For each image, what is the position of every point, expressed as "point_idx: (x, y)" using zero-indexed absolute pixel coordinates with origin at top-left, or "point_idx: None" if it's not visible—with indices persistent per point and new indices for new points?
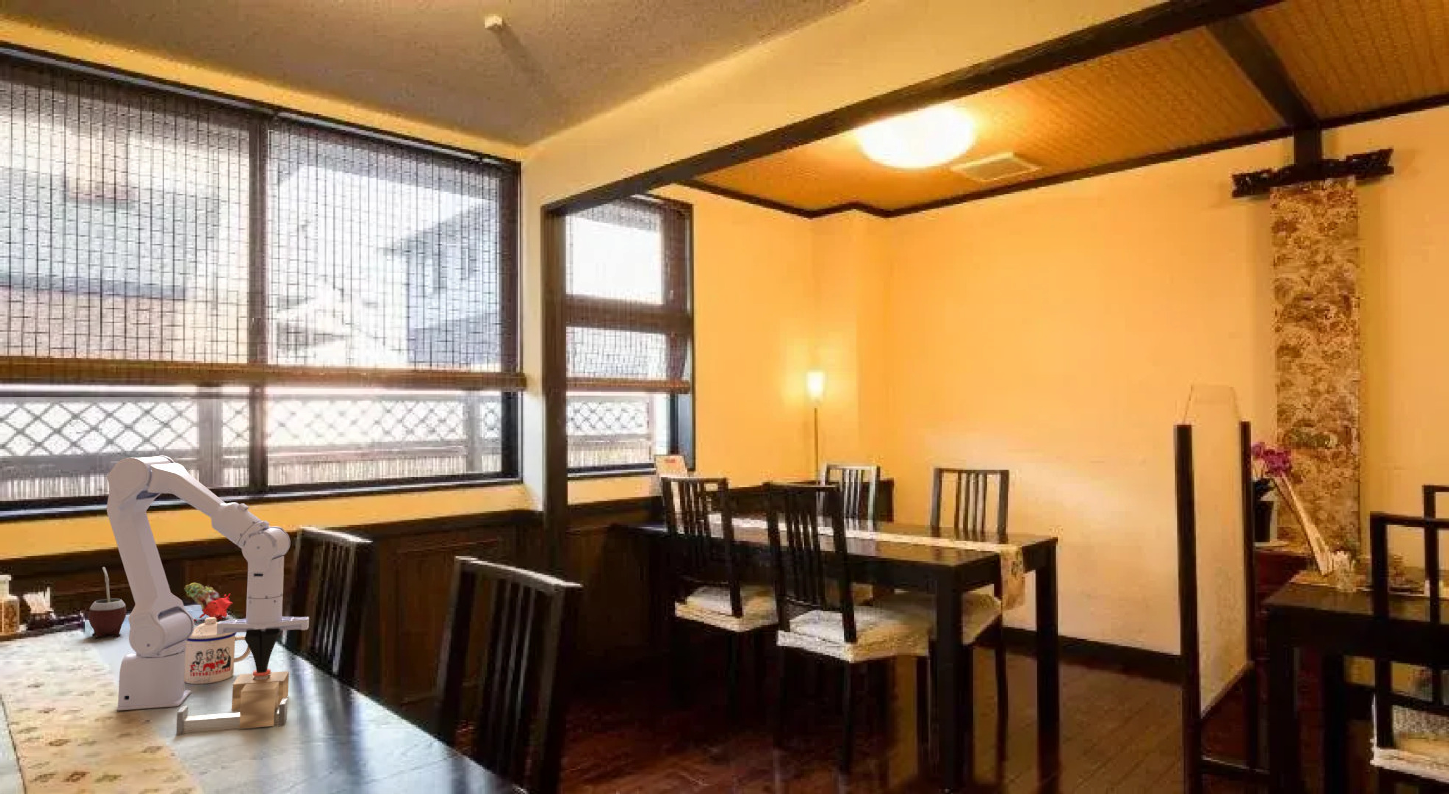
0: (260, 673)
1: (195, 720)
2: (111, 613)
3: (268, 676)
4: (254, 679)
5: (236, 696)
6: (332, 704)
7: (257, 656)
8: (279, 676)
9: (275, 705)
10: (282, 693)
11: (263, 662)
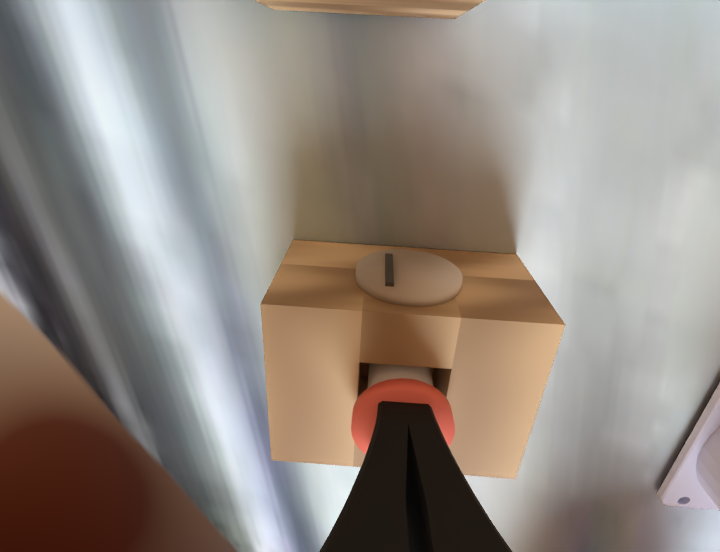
0: (407, 391)
1: None
2: None
3: None
4: None
5: (516, 284)
6: (62, 198)
7: (445, 500)
8: (302, 390)
9: None
10: (282, 269)
11: (392, 452)
